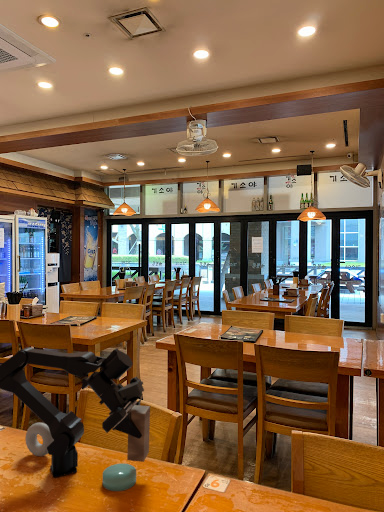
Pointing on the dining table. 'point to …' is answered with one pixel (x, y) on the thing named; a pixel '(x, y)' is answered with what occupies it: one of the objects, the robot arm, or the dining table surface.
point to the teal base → (119, 477)
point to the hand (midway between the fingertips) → (143, 432)
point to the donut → (33, 442)
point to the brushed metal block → (141, 419)
